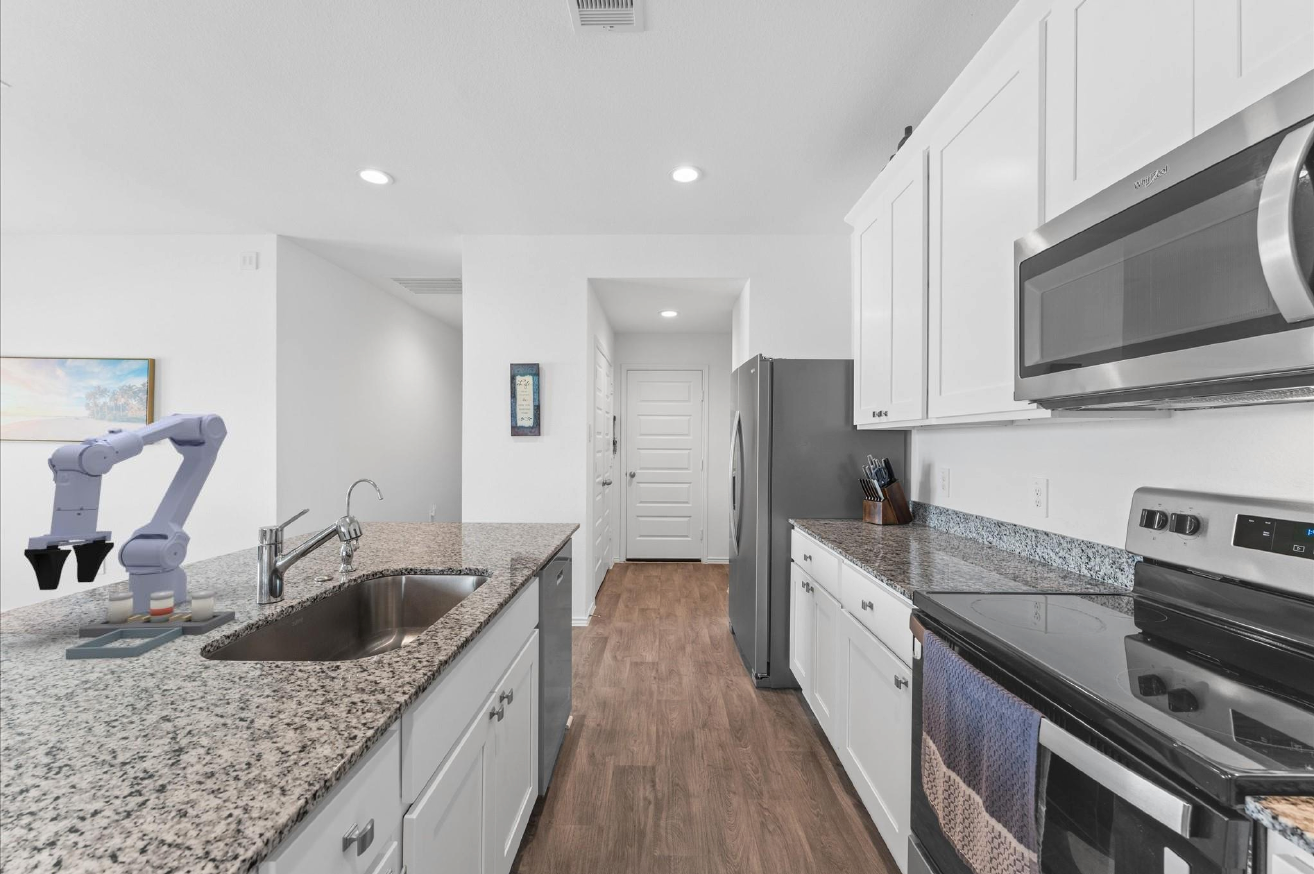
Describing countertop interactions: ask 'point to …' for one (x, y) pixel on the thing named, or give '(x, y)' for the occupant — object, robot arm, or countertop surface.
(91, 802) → the countertop surface
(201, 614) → the fuse
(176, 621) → the fuse holder
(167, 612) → the marked fuse
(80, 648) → the tray
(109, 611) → the fuse
